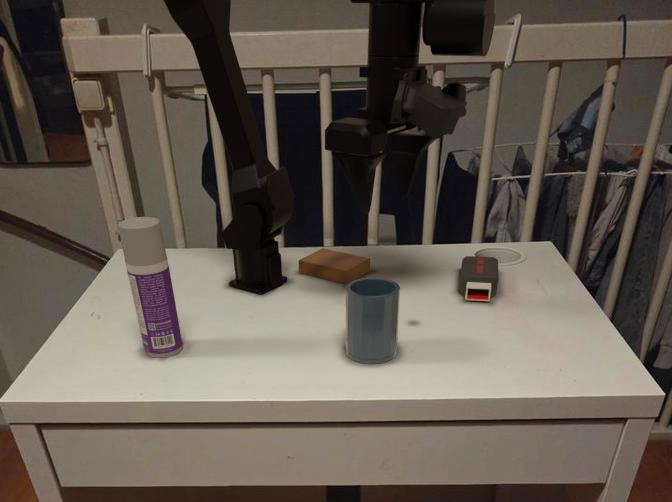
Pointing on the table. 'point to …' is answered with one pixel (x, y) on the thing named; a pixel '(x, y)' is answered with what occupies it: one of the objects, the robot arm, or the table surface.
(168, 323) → the container
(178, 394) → the table surface
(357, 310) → the cup
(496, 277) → the usb drive
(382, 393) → the table surface
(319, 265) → the wooden block
